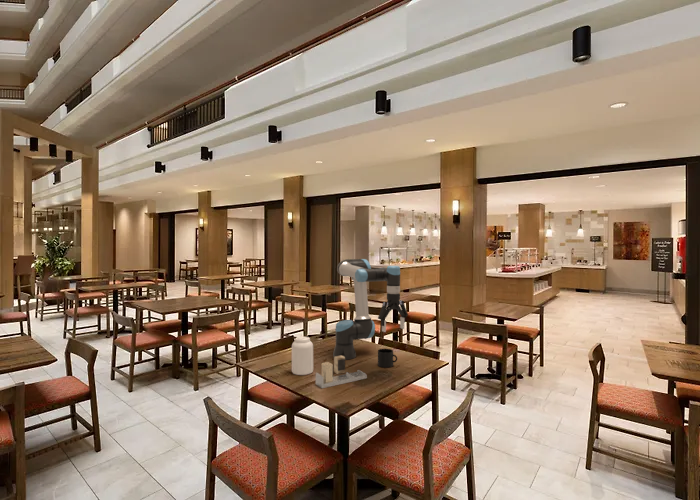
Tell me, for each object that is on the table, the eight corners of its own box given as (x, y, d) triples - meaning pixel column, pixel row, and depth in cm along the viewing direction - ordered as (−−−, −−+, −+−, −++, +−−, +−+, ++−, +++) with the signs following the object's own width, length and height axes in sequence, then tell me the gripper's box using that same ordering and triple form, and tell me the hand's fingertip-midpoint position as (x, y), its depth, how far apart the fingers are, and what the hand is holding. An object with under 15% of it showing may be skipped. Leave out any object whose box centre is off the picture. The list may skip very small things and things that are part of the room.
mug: (395, 369, 222) (395, 353, 222) (376, 367, 226) (376, 352, 226) (398, 364, 231) (398, 349, 231) (379, 362, 235) (379, 348, 235)
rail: (315, 384, 198) (315, 363, 198) (359, 374, 213) (359, 355, 212) (321, 388, 192) (321, 367, 192) (366, 378, 207) (366, 358, 206)
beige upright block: (341, 370, 220) (341, 355, 219) (345, 372, 216) (345, 357, 216) (334, 372, 217) (334, 356, 217) (338, 374, 213) (337, 358, 213)
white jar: (295, 376, 209) (295, 341, 209) (288, 370, 220) (288, 336, 220) (316, 373, 215) (316, 338, 215) (308, 367, 226) (308, 334, 226)
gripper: (380, 295, 203) (379, 334, 203) (414, 292, 216) (413, 328, 217) (371, 293, 209) (371, 331, 209) (405, 290, 223) (405, 326, 223)
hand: (393, 330), depth 213 cm, fingers open, 13 cm apart
